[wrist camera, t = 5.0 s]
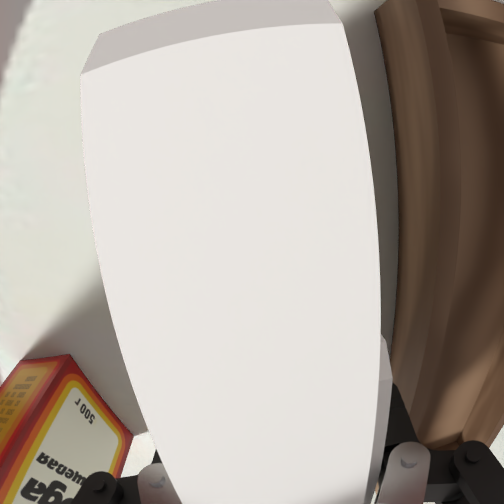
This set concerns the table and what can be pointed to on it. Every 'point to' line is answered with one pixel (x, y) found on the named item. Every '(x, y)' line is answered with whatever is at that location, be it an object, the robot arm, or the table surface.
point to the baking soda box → (55, 433)
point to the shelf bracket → (241, 248)
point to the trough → (448, 214)
